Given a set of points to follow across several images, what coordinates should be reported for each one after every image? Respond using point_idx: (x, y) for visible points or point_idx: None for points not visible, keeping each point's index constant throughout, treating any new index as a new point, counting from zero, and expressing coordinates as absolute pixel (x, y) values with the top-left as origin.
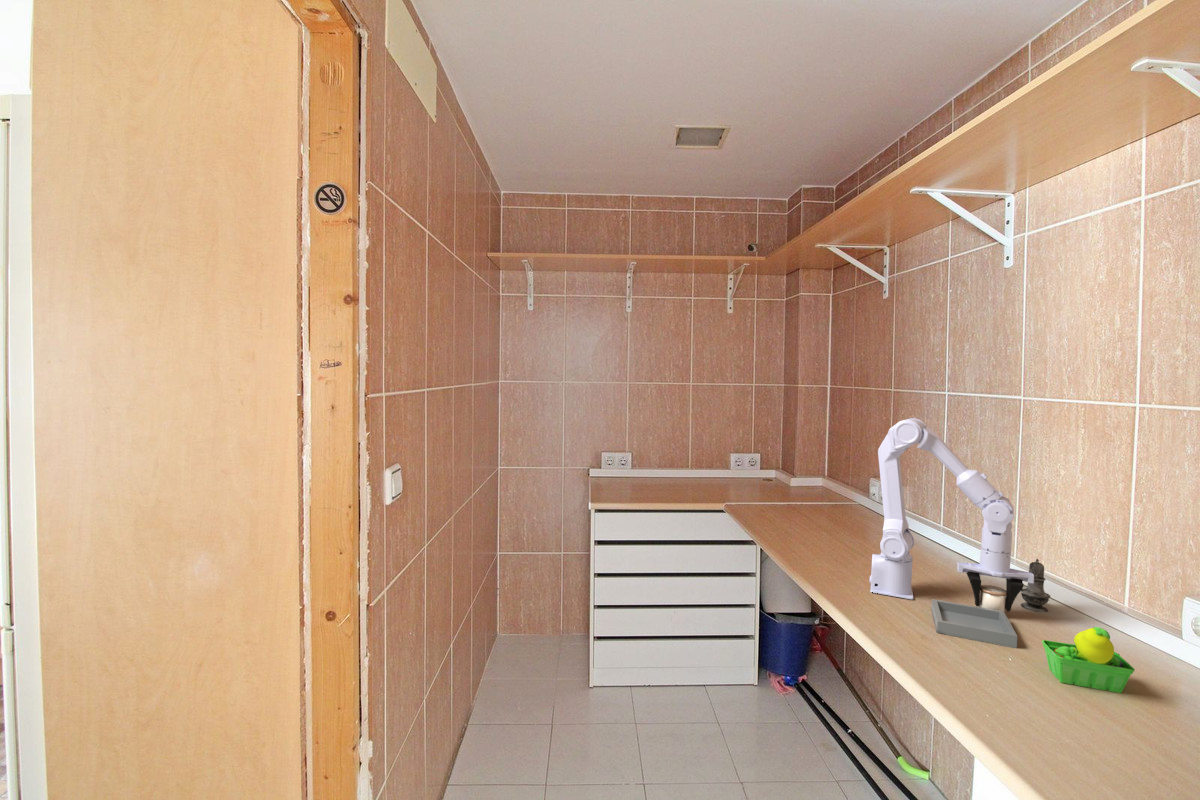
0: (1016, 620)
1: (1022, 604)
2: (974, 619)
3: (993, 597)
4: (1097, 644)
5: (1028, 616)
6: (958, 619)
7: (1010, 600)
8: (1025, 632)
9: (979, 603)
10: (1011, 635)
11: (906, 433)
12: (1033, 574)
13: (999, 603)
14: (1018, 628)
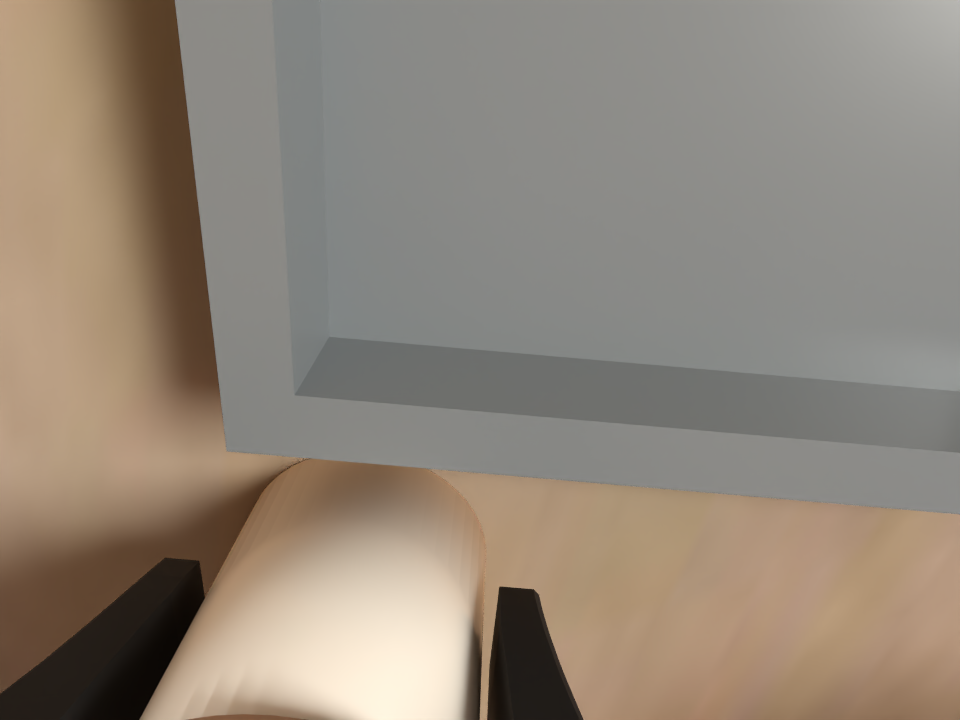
0: (137, 484)
1: None
2: (662, 219)
3: (314, 681)
4: None
5: (31, 624)
6: (935, 106)
7: (66, 681)
8: (39, 119)
9: (505, 615)
10: None
11: None
12: None
13: (249, 606)
14: (121, 237)
